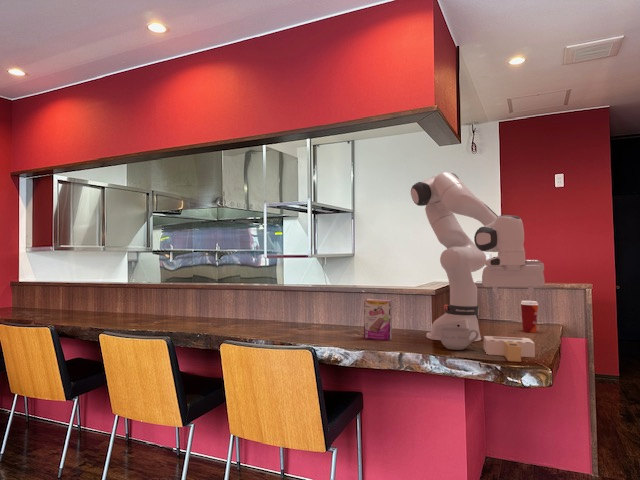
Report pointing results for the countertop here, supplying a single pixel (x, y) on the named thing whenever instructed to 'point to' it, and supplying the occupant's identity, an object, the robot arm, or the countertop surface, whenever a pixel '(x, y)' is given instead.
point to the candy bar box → (378, 319)
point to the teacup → (457, 337)
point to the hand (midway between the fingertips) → (513, 299)
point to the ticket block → (498, 345)
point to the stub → (513, 351)
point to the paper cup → (529, 315)
